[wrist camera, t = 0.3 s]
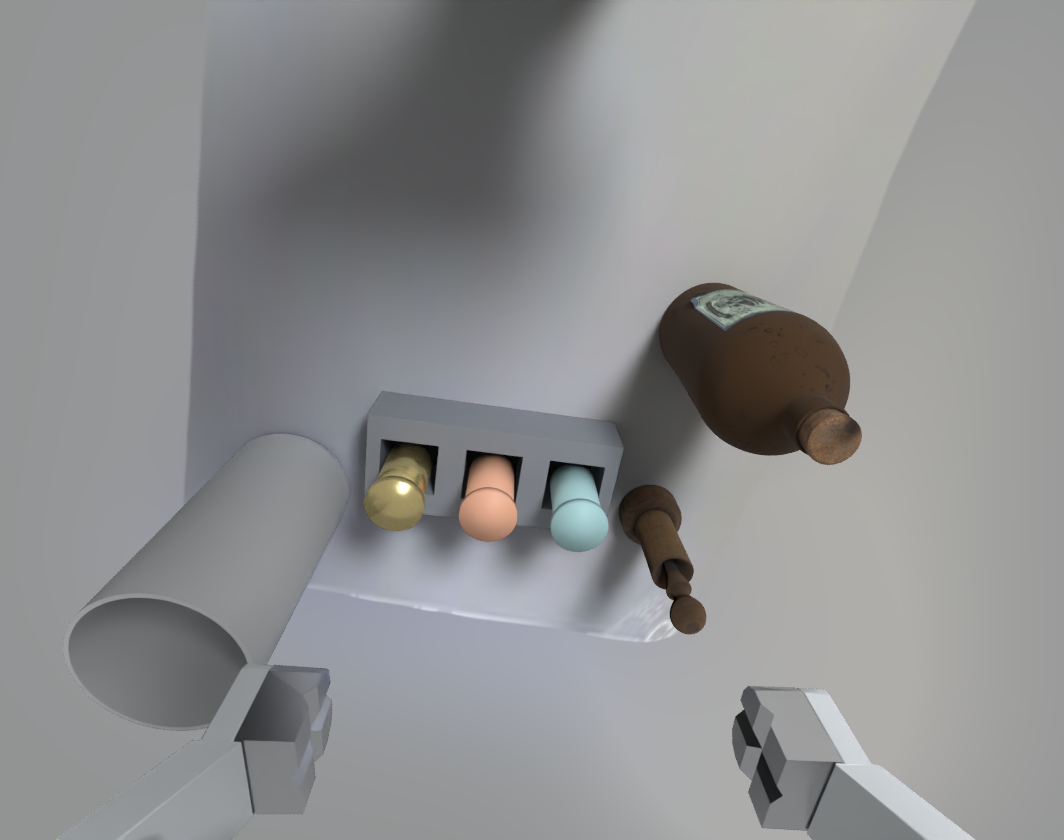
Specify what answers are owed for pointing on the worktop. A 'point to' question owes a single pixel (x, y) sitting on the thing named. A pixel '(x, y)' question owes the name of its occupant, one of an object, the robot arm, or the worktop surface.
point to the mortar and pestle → (663, 550)
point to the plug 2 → (489, 499)
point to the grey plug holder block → (492, 449)
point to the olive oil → (760, 374)
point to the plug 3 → (576, 509)
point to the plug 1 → (400, 488)
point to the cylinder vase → (210, 587)
